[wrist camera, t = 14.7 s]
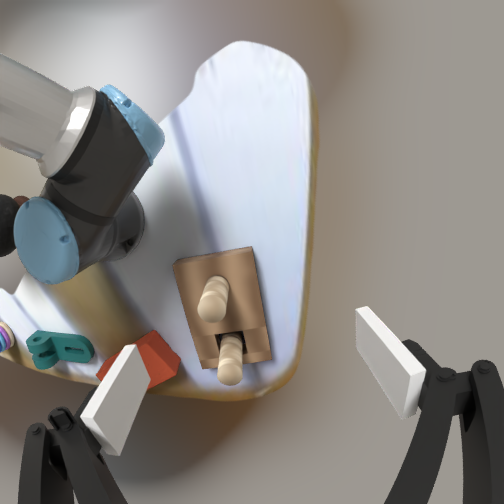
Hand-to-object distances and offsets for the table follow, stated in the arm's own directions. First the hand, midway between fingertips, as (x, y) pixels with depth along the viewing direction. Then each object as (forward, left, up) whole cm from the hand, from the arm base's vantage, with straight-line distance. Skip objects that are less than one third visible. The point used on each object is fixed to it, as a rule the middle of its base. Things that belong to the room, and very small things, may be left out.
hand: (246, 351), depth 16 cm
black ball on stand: (-50, +14, -37) cm, 64 cm away
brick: (-28, -23, -37) cm, 52 cm away
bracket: (-49, -18, -37) cm, 64 cm away
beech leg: (-6, -19, -37) cm, 42 cm away
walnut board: (-6, -13, -37) cm, 39 cm away
